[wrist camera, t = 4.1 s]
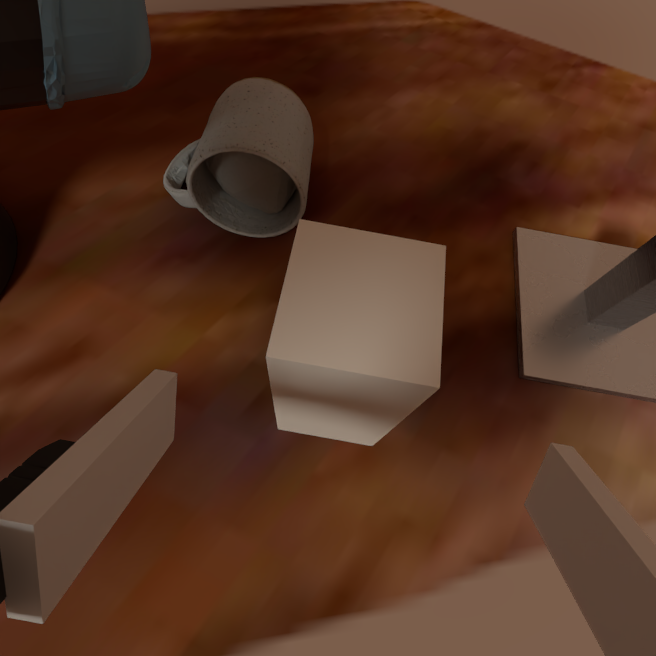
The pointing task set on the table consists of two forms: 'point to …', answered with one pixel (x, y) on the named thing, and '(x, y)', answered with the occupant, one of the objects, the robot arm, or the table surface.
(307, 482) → the table surface
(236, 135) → the ceramic mug
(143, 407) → the robot arm
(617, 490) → the table surface
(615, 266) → the square base plate
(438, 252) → the beige square prism
